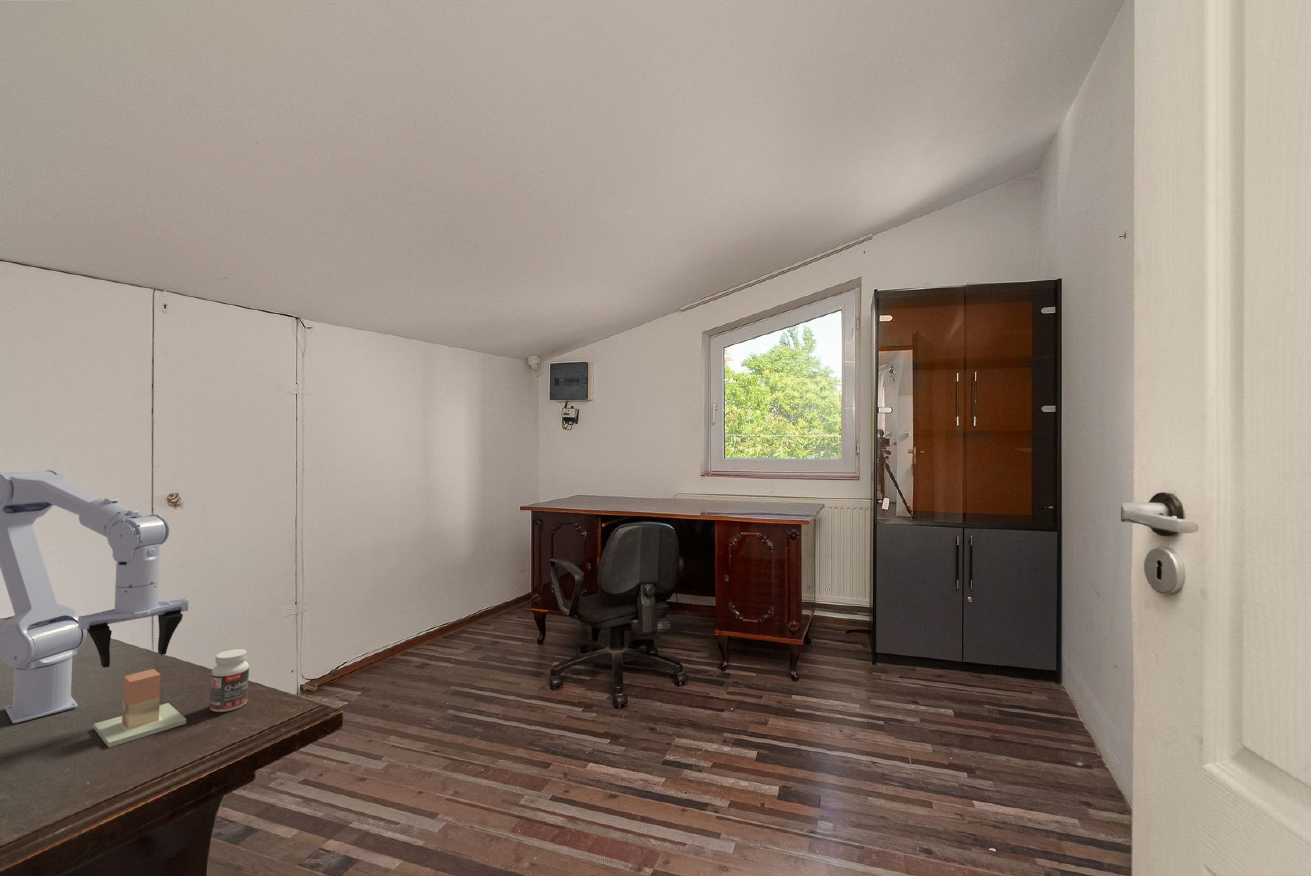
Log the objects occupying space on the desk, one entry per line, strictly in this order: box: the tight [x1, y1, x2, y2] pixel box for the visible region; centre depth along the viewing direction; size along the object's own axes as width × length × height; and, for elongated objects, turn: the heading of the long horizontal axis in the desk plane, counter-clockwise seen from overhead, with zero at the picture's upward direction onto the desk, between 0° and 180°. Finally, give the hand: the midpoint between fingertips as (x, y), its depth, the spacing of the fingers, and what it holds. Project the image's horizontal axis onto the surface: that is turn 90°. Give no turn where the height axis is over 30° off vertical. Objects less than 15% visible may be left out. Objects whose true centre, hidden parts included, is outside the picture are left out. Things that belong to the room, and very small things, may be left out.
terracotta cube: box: [122, 668, 161, 706], centre depth 98 cm, size 4×4×4 cm
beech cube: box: [121, 696, 161, 729], centre depth 98 cm, size 4×4×4 cm
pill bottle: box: [209, 648, 250, 713], centre depth 106 cm, size 6×6×10 cm
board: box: [93, 702, 187, 748], centre depth 98 cm, size 10×10×1 cm
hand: (134, 659), depth 101 cm, fingers open, 7 cm apart
